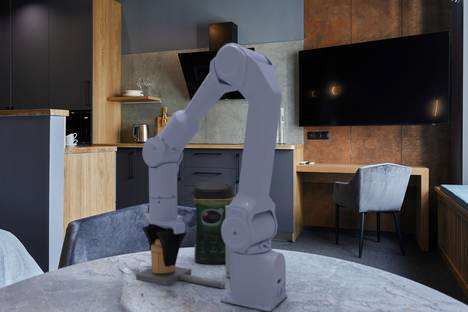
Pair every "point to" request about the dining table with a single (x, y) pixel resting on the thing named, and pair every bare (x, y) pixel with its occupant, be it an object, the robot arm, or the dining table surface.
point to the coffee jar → (211, 220)
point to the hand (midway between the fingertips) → (164, 262)
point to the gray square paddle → (176, 277)
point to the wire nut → (159, 259)
